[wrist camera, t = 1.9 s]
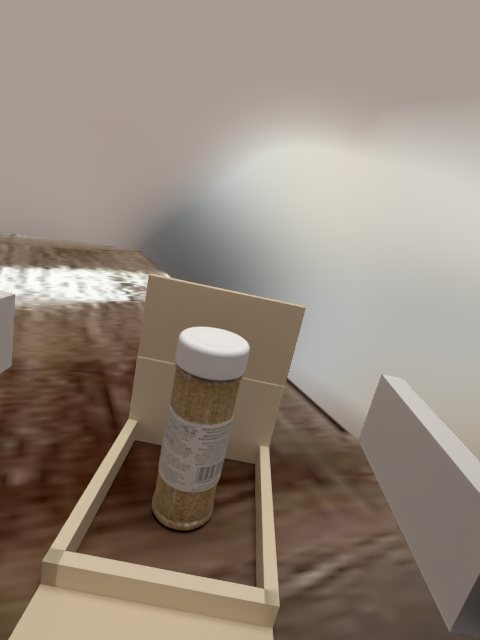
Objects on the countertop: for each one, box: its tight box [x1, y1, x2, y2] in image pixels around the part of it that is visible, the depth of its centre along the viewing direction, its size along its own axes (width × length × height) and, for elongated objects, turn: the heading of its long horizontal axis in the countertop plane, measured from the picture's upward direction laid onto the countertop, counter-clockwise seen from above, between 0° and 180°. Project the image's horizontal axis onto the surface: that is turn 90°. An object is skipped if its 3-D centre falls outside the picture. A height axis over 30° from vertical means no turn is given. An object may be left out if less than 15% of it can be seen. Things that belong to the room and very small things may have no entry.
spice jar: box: [152, 327, 250, 530], centre depth 25 cm, size 5×5×14 cm
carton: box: [9, 274, 306, 640], centre depth 22 cm, size 21×13×15 cm, turn 178°
